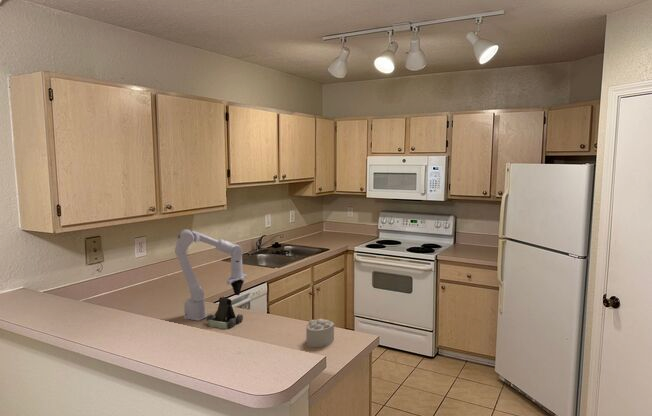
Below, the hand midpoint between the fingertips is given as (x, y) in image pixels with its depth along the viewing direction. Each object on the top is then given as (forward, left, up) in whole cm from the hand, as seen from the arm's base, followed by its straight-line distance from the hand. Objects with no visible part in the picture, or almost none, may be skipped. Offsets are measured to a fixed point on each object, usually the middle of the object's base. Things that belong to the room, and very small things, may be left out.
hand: (237, 294), depth 221 cm
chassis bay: (+3, -14, -9) cm, 17 cm away
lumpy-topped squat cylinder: (+53, -16, -10) cm, 56 cm away
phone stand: (+3, -14, -10) cm, 17 cm away
